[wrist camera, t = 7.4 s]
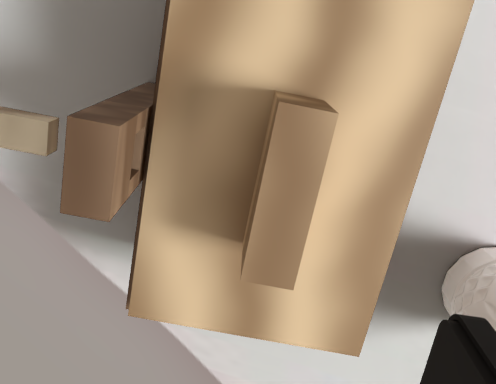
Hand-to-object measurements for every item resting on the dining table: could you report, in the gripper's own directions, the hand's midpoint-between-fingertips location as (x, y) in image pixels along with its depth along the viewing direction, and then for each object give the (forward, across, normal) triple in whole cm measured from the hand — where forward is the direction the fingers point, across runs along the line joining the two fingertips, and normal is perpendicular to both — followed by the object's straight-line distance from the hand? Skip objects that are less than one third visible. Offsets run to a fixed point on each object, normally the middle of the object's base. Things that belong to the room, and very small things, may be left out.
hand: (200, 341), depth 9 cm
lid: (+17, -2, +1) cm, 17 cm away
